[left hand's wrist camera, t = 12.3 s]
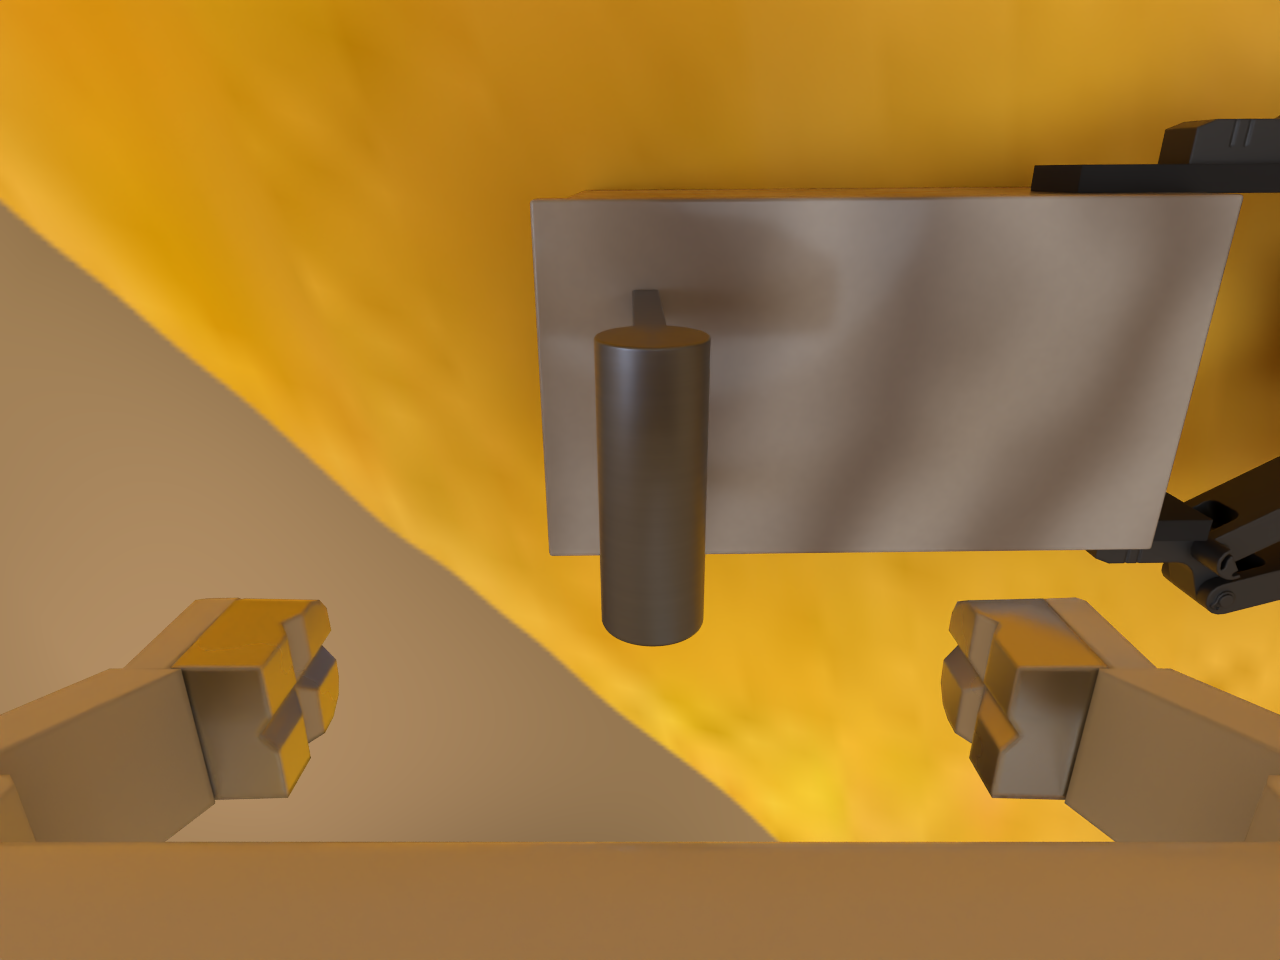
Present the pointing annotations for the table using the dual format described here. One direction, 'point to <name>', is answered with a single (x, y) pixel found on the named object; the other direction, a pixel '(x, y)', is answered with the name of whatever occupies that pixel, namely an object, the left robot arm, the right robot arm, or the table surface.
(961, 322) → the lid
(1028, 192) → the chest
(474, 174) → the table surface
